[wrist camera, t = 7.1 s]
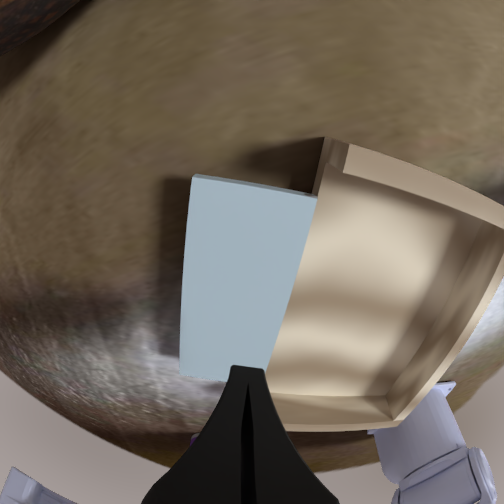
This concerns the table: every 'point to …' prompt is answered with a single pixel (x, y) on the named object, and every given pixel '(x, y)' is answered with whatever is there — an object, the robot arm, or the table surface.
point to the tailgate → (238, 272)
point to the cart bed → (381, 291)
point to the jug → (27, 19)
